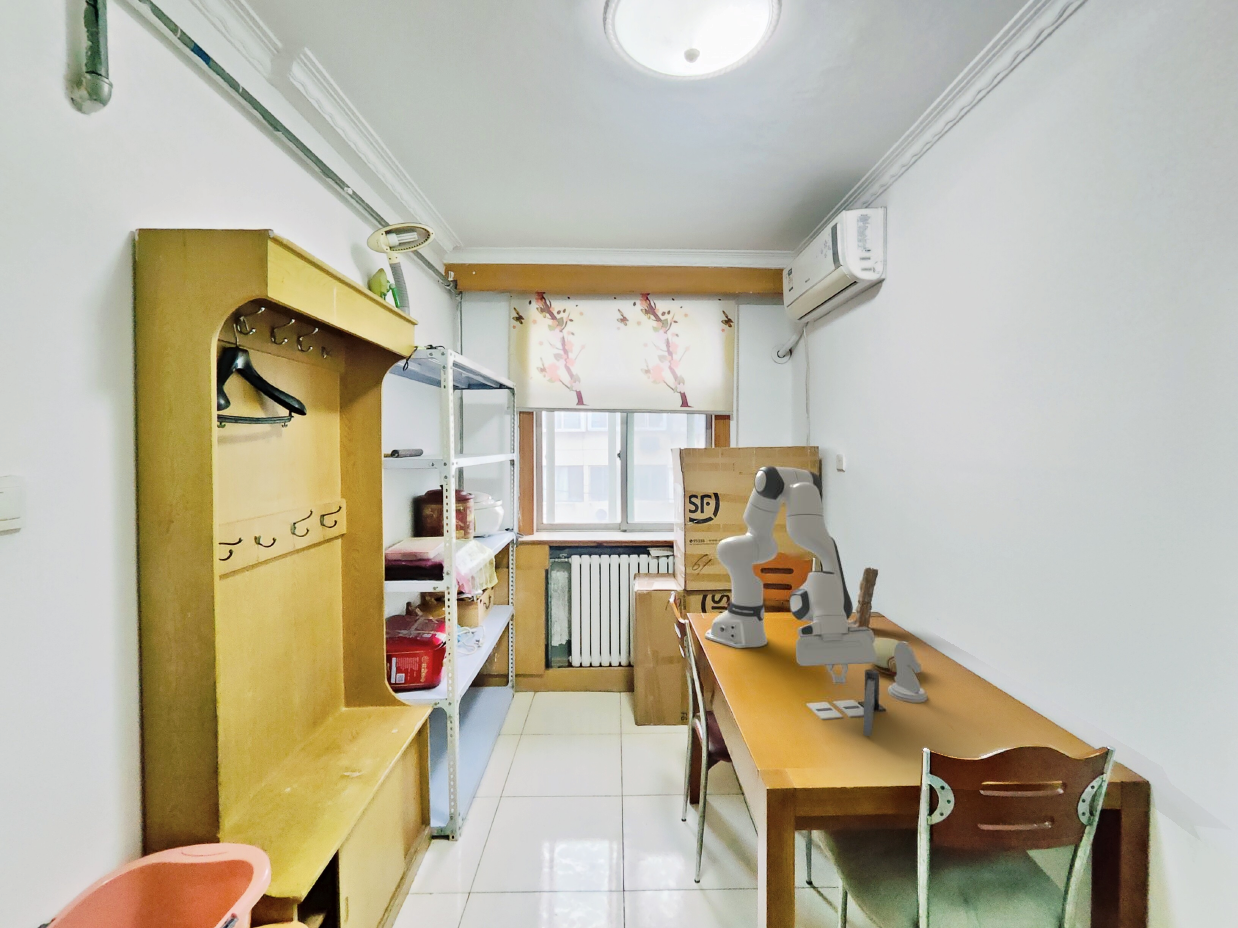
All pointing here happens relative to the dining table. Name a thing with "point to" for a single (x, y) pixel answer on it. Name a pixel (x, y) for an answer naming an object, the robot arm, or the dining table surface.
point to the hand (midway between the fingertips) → (839, 682)
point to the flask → (885, 654)
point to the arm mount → (874, 708)
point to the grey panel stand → (870, 699)
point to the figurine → (865, 599)
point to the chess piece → (906, 675)
